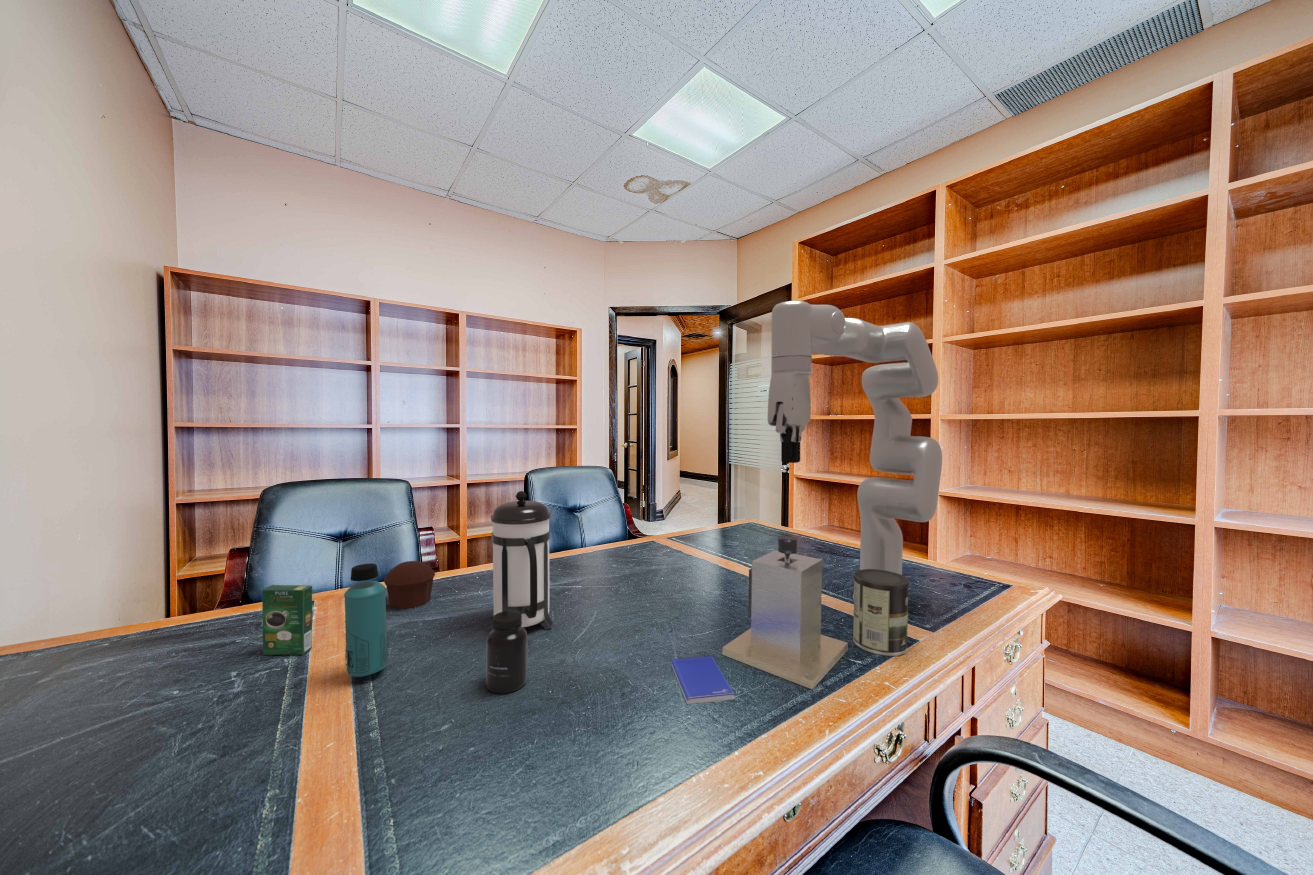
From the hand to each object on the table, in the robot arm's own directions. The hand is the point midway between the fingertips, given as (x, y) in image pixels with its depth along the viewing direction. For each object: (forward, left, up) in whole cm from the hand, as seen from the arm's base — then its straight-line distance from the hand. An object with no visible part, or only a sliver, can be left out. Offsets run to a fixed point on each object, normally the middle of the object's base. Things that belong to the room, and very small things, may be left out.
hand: (790, 461), depth 91 cm
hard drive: (+20, -7, -39) cm, 44 cm away
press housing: (+1, 0, -38) cm, 38 cm away
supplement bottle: (+43, -32, -38) cm, 66 cm away
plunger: (+1, 0, -32) cm, 32 cm away
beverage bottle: (+58, -53, -38) cm, 87 cm away
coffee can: (-15, +13, -38) cm, 43 cm away
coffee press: (+28, -49, -38) cm, 68 cm away
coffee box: (+65, -74, -38) cm, 105 cm away
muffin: (+39, -82, -38) cm, 98 cm away
